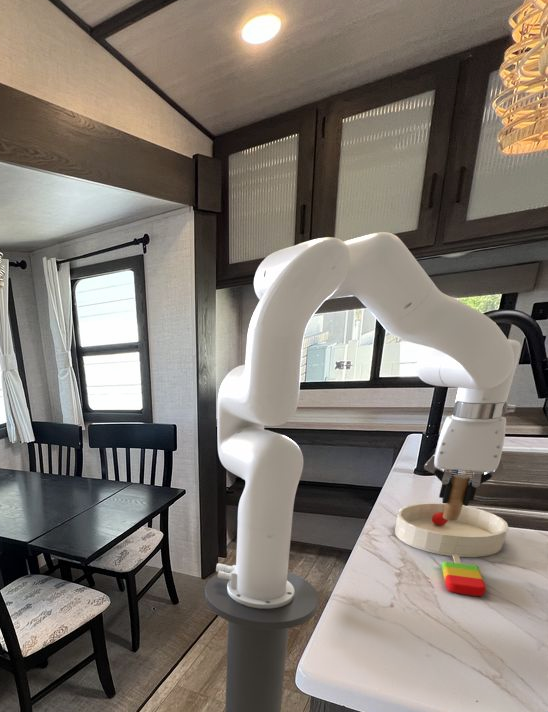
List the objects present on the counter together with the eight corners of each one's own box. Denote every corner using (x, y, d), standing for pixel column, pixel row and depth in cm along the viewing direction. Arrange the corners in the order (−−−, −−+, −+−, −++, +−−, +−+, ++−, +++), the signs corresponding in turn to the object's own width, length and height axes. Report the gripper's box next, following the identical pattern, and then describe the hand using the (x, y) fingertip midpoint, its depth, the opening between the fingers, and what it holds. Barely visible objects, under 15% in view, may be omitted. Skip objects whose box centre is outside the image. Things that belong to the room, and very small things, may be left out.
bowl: (391, 547, 100) (395, 528, 99) (397, 516, 115) (400, 499, 113) (506, 564, 90) (513, 543, 88) (497, 527, 105) (503, 509, 103)
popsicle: (446, 592, 83) (449, 583, 83) (437, 556, 95) (439, 548, 95) (485, 598, 81) (488, 588, 80) (471, 560, 93) (473, 552, 92)
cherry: (432, 528, 107) (426, 516, 108) (440, 527, 108) (434, 515, 109) (445, 522, 104) (438, 510, 105) (453, 521, 105) (446, 509, 106)
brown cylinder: (442, 519, 96) (452, 477, 93) (442, 514, 98) (452, 473, 95) (459, 521, 95) (470, 478, 91) (458, 516, 97) (469, 475, 93)
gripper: (532, 408, 86) (504, 501, 94) (426, 406, 95) (408, 492, 102) (538, 415, 81) (508, 514, 88) (425, 412, 89) (406, 503, 97)
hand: (454, 501), depth 95 cm, fingers closed on brown cylinder, 2 cm apart
